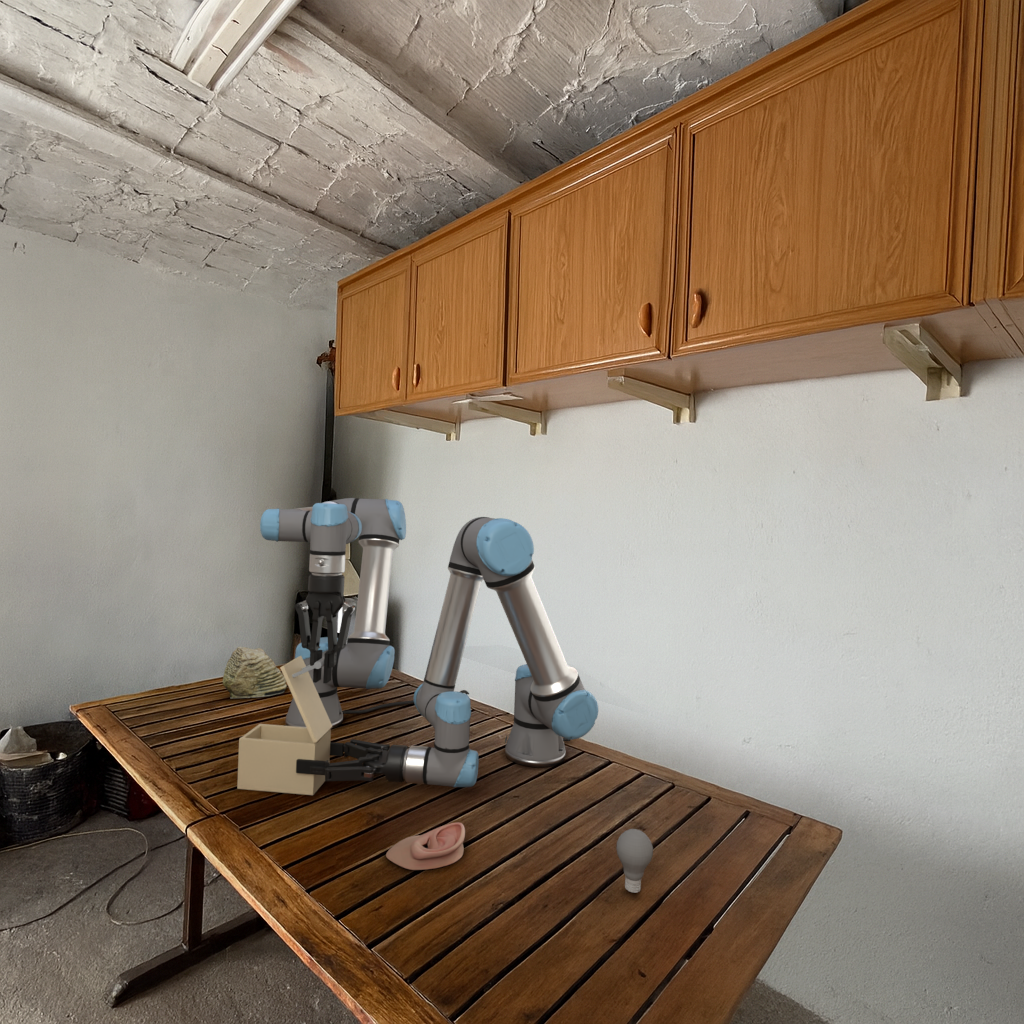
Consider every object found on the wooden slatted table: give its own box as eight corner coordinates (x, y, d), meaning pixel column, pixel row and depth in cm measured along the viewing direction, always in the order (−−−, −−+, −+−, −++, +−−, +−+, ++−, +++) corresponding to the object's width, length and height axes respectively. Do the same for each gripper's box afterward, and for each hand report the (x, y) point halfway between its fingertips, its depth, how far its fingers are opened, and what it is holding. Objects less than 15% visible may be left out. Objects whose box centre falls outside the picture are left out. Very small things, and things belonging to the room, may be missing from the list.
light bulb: (610, 879, 108) (613, 822, 108) (644, 879, 109) (647, 822, 109) (619, 902, 102) (622, 840, 102) (655, 901, 103) (658, 840, 103)
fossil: (218, 695, 195) (220, 647, 195) (278, 685, 208) (279, 640, 207) (228, 703, 189) (230, 653, 188) (289, 692, 201) (290, 645, 201)
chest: (237, 788, 136) (239, 738, 135) (257, 770, 145) (259, 723, 145) (313, 795, 134) (315, 744, 134) (329, 776, 144) (331, 729, 143)
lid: (279, 667, 134) (312, 653, 134) (298, 656, 144) (328, 643, 143) (313, 743, 134) (346, 729, 134) (329, 727, 143) (360, 714, 143)
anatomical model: (379, 842, 110) (403, 810, 121) (378, 864, 110) (403, 831, 121) (452, 854, 107) (471, 821, 118) (452, 877, 107) (470, 842, 118)
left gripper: (287, 573, 135) (282, 683, 135) (353, 577, 134) (348, 688, 134) (301, 570, 143) (297, 674, 143) (365, 574, 141) (360, 679, 142)
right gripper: (392, 805, 127) (283, 796, 128) (417, 760, 148) (324, 753, 150) (394, 768, 126) (285, 759, 128) (418, 728, 148) (325, 722, 150)
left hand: (322, 681), depth 138 cm, fingers closed on lid, 2 cm apart
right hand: (306, 756), depth 139 cm, fingers closed on chest, 9 cm apart
